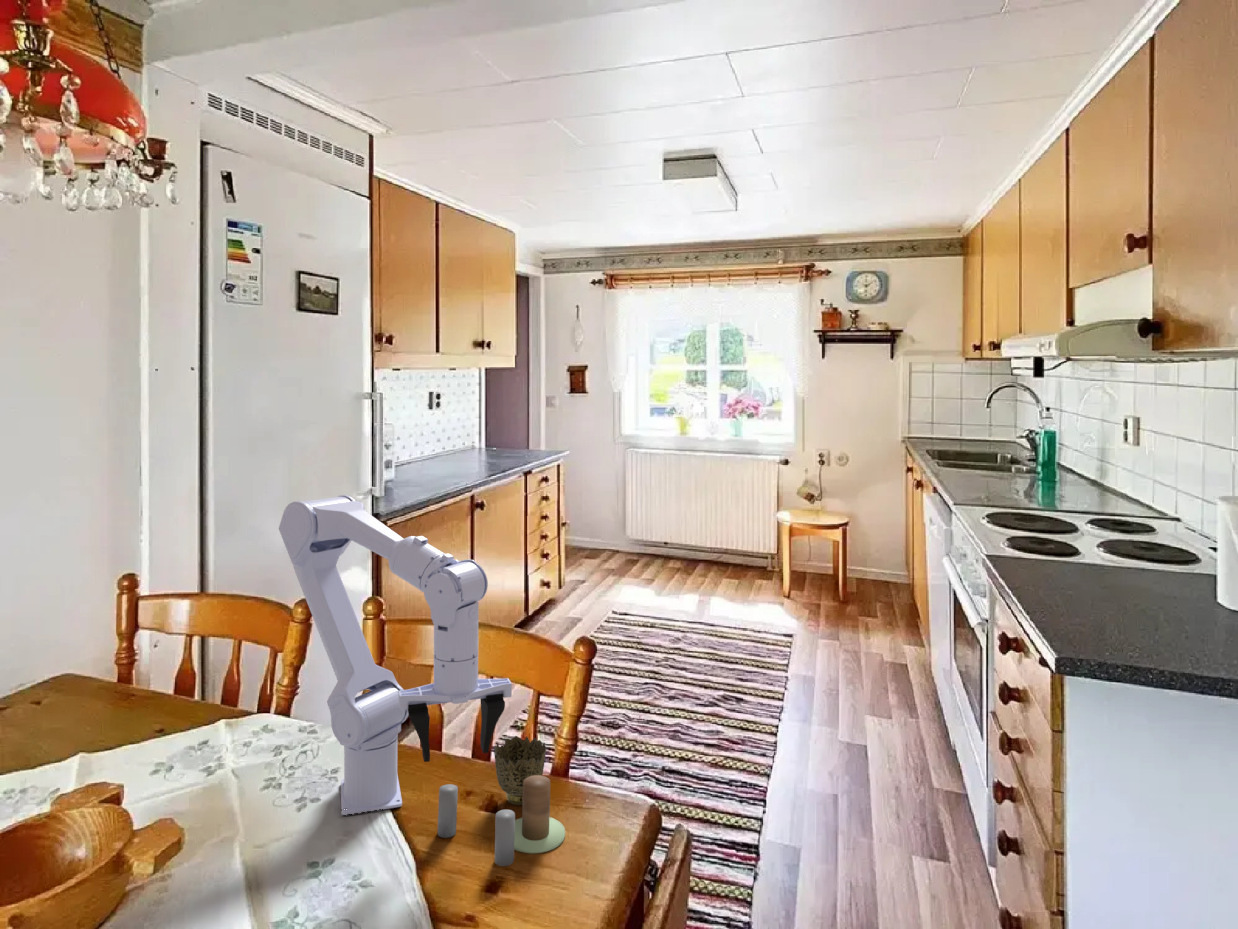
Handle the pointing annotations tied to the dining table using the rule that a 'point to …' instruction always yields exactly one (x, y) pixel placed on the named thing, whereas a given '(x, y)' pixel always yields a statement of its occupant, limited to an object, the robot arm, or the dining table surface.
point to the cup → (518, 765)
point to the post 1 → (447, 810)
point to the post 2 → (504, 837)
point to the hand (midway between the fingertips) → (455, 754)
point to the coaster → (542, 845)
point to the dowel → (536, 807)
